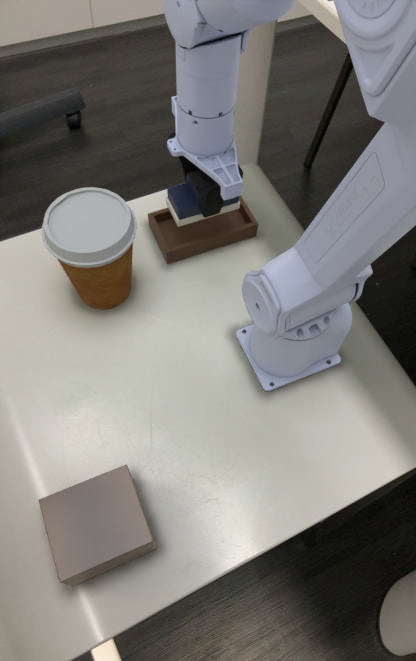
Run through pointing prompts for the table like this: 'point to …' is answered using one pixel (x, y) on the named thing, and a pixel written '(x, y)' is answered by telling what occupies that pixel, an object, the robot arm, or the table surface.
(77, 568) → the grey brown block
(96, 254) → the disposable coffee cup
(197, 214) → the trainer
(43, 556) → the table surface
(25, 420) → the table surface
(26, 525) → the table surface
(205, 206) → the robot arm
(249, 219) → the brown wooden tray
